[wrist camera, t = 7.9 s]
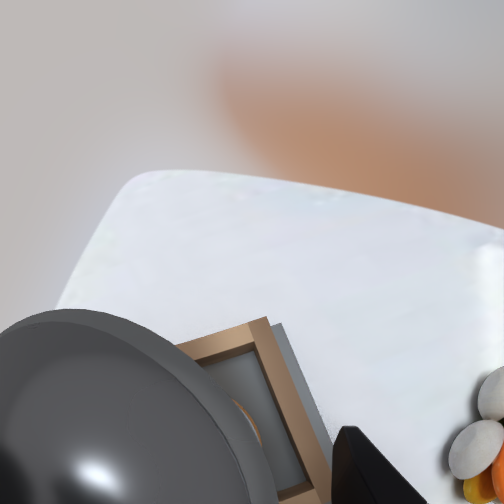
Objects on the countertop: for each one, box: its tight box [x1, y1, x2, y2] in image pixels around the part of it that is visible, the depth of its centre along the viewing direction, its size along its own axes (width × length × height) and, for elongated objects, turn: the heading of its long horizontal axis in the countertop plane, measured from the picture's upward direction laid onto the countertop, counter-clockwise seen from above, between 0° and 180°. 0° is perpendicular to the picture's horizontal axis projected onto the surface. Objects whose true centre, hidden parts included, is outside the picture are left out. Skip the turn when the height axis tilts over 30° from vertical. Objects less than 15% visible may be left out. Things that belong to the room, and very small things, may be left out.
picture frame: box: [175, 316, 333, 504], centre depth 12 cm, size 11×15×2 cm
